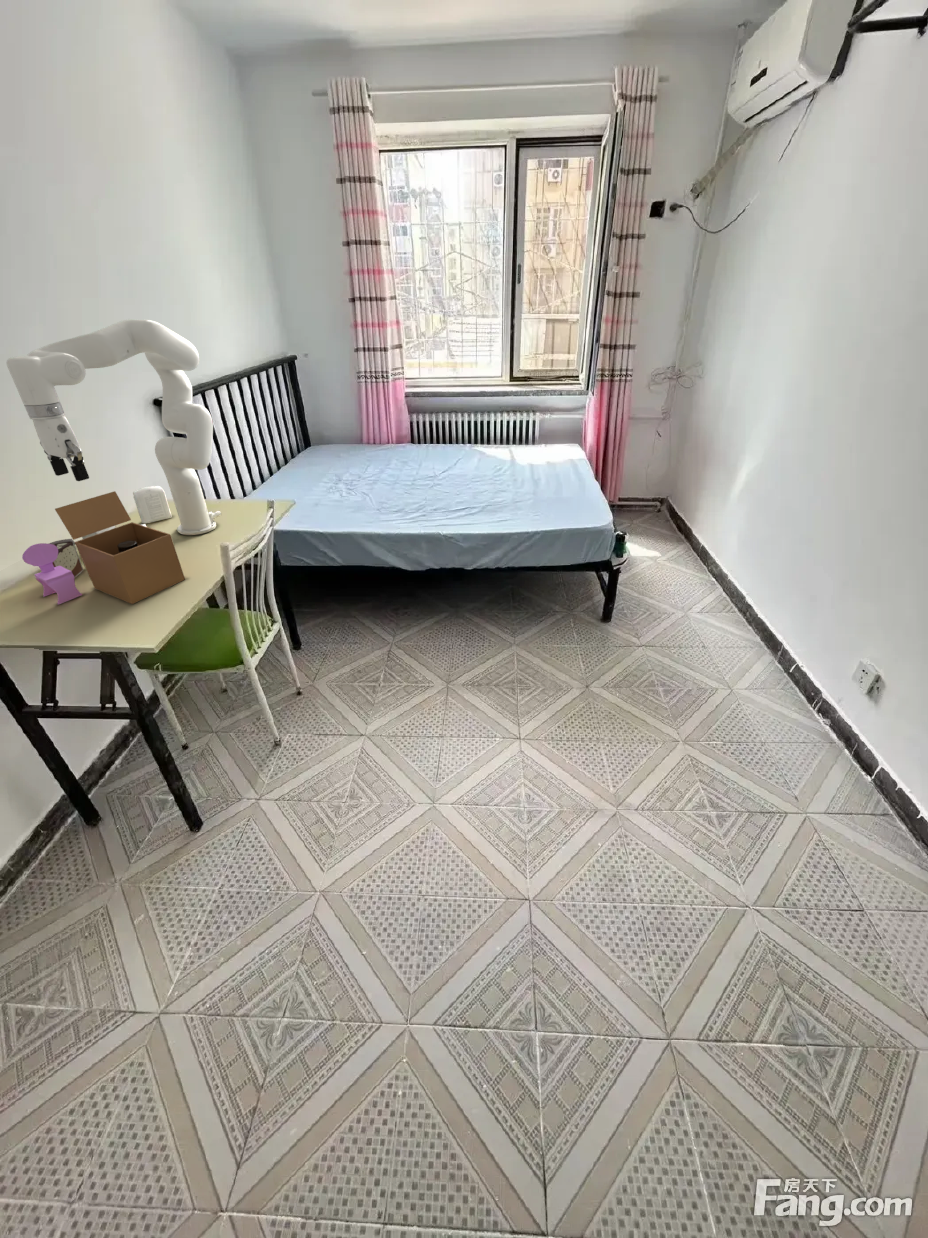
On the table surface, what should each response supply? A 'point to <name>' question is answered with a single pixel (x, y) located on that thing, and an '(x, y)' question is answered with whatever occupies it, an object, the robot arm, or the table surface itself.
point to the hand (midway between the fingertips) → (72, 476)
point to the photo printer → (152, 504)
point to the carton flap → (93, 515)
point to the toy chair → (51, 572)
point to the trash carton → (131, 562)
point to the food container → (67, 556)
